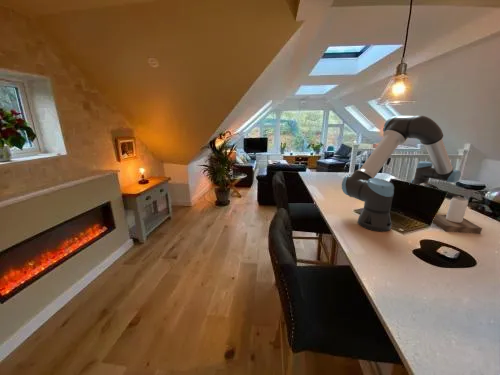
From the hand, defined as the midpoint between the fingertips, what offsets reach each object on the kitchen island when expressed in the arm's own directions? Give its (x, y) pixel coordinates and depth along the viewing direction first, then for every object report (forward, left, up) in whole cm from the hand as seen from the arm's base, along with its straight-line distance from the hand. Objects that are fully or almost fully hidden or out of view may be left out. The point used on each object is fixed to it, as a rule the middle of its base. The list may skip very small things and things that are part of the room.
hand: (452, 202), depth 118 cm
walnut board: (0, -5, -11) cm, 12 cm away
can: (0, -5, -8) cm, 10 cm away
